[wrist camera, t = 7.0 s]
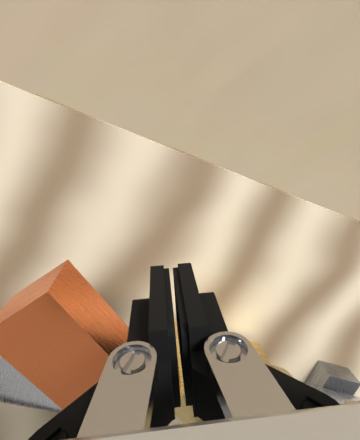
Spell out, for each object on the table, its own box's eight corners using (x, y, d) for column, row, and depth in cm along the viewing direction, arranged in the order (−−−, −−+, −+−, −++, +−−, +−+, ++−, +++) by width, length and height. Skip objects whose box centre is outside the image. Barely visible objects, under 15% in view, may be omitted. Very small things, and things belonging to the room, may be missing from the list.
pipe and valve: (365, 367, 24) (457, 469, 17) (330, 418, 26) (401, 533, 18) (-9, 266, 18) (-115, 357, 11) (-26, 340, 20) (-129, 463, 13)
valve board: (442, 253, 23) (461, 261, 22) (295, 470, 30) (302, 487, 28) (4, 82, 17) (-9, 78, 15) (-62, 410, 23) (-76, 428, 22)
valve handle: (68, 259, 10) (47, 291, 8) (258, 472, 15) (275, 527, 13) (12, 296, 11) (-21, 336, 9) (216, 494, 15) (226, 552, 13)
